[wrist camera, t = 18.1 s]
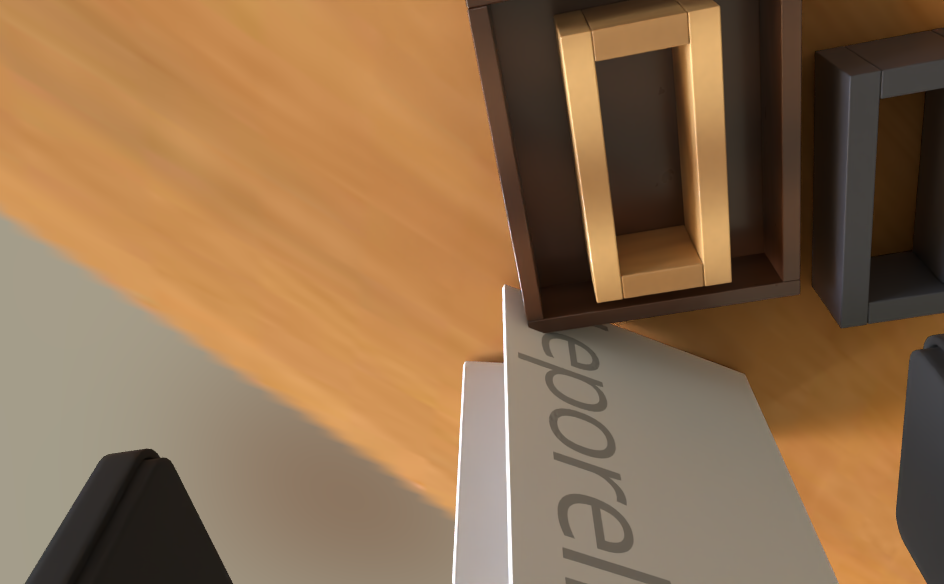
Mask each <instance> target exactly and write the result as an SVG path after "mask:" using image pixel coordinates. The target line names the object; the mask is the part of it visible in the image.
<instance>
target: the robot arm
mask: <svg viewBox="0 0 944 584" xmlns="http://www.w3.org/2000/svg"><path fill="white" fill-rule="evenodd" d="M896 519H897V525H898V529H899V532H900V535H901V538H902V540H903V542H904V544H905V546H906V547H907V549H908V551H909V553H910V554H911V556H912V558H913V560H914V561H915V563H916V565H917V567H918V568H919V570H920V572H921V574H922V575H923V577H924V579H925V581H926V582H927V584H944V334H938V335H932V336H930V337H928V338H927V339H926V341H925V343H924V347H923V349H920V350H915V351H913V352H912V354H911V355H910V360H909V370H908V381H907V392H906V404H905V415H904V426H903V438H902V449H901V460H900V471H899V483H898V494H897V505H896ZM25 584H233V583H232V581H231V579H230V577H229V575H228V573H227V571H226V569H225V567H224V565H223V563H222V561H221V559H220V557H219V555H218V553H217V551H216V549H215V547H214V545H213V543H212V541H211V539H210V537H209V535H208V533H207V531H206V529H205V527H204V525H203V523H202V521H201V519H200V517H199V515H198V513H197V511H196V509H195V507H194V505H193V503H192V501H191V499H190V497H189V495H188V493H187V491H186V489H185V488H184V485H183V483H182V481H181V479H180V477H179V475H178V473H177V471H176V470H175V468H174V465H173V464H172V463H171V461H170V460H169V459H167V458H160V457H159V455H158V454H157V453H156V452H155V451H154V450H152V449H142V450H134V451H128V452H121V453H114V454H108V455H106V456H104V457H103V458H102V459H101V460H100V461H99V463H98V464H97V466H96V468H95V469H94V471H93V473H92V474H91V476H90V477H89V479H88V481H87V482H86V484H85V486H84V487H83V489H82V491H81V492H80V494H79V496H78V497H77V499H76V500H75V502H74V504H73V505H72V508H71V509H70V510H69V512H68V514H67V515H66V517H65V519H64V520H63V522H62V523H61V525H60V527H59V528H58V530H57V532H56V533H55V535H54V537H53V538H52V540H51V542H50V543H49V545H48V547H47V548H46V550H45V551H44V553H43V555H42V556H41V558H40V560H39V561H38V563H37V565H36V566H35V568H34V569H33V571H32V573H31V574H30V576H29V578H28V579H27V581H26V583H25Z"/></svg>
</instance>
